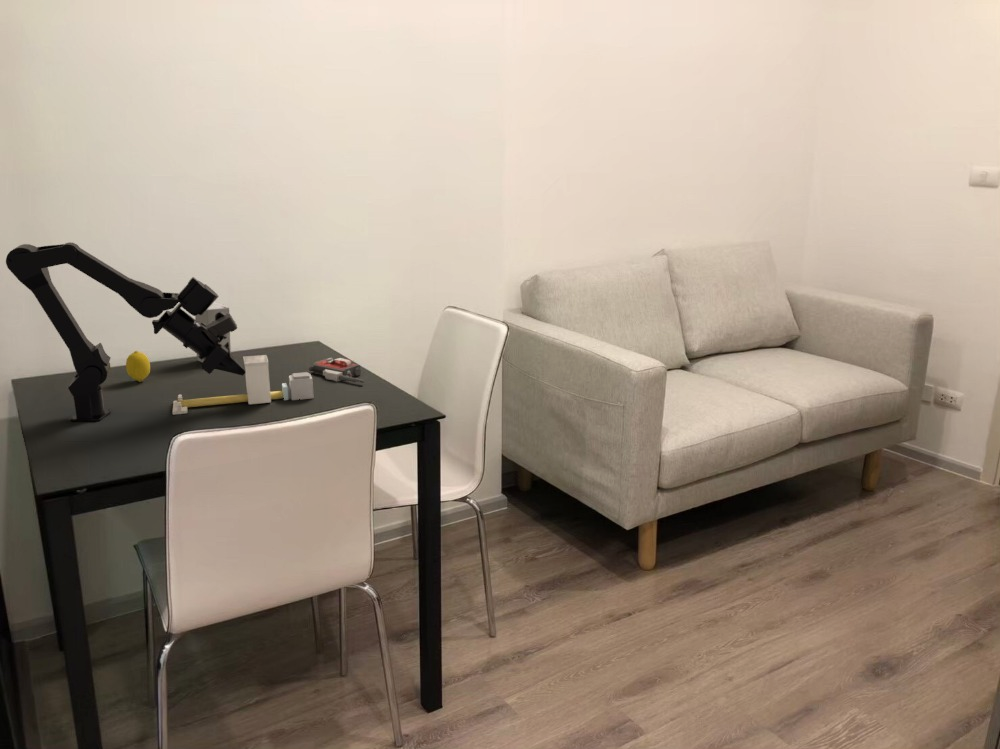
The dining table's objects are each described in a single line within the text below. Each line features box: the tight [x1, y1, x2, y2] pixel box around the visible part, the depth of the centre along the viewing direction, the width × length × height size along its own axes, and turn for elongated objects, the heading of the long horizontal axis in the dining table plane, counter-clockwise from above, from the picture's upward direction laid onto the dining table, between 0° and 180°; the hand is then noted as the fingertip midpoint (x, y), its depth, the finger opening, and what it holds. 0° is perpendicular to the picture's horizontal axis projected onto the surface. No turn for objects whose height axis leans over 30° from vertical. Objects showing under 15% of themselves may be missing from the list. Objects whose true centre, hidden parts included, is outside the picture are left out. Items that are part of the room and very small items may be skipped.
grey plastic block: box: [281, 371, 315, 401], centre depth 196 cm, size 7×4×5 cm, turn 109°
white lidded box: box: [242, 354, 272, 405], centre depth 193 cm, size 5×7×10 cm
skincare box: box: [194, 301, 232, 363], centre depth 226 cm, size 8×7×16 cm
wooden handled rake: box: [172, 390, 284, 415], centre depth 192 cm, size 26×8×2 cm, turn 109°
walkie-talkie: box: [308, 357, 365, 384], centre depth 214 cm, size 9×4×20 cm
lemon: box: [125, 350, 151, 383], centre depth 208 cm, size 6×6×8 cm
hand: (244, 373), depth 192 cm, fingers closed, pressing on white lidded box
